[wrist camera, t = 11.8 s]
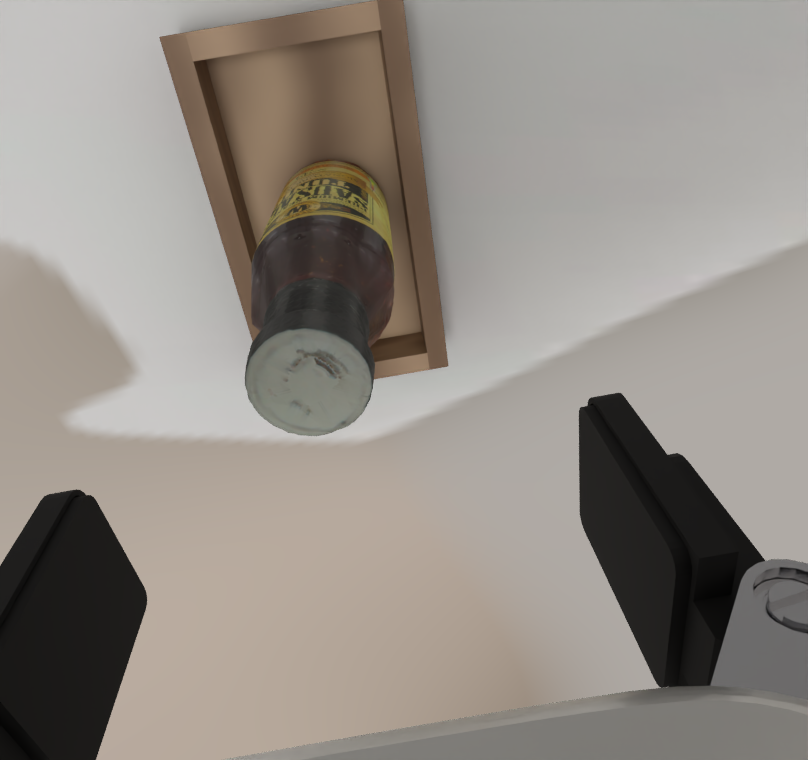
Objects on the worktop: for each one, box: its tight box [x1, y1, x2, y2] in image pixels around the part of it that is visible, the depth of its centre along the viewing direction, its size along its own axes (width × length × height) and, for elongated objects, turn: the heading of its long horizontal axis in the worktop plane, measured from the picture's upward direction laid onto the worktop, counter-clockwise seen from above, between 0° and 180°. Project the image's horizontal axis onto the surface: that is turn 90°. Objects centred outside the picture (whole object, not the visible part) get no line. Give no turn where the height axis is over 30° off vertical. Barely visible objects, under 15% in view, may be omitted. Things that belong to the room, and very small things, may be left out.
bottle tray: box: [159, 0, 448, 379], centre depth 35 cm, size 11×20×4 cm, turn 8°
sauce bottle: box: [245, 159, 395, 436], centre depth 27 cm, size 6×6×20 cm
